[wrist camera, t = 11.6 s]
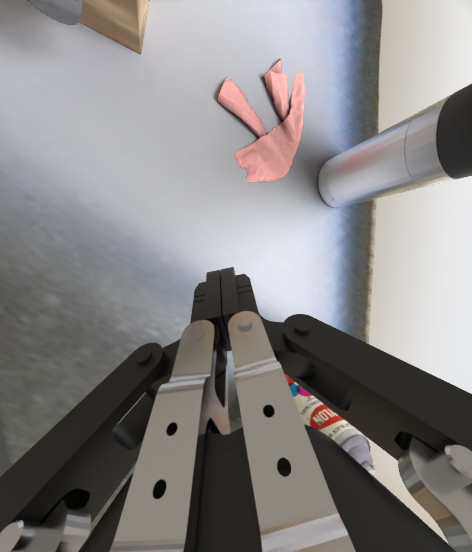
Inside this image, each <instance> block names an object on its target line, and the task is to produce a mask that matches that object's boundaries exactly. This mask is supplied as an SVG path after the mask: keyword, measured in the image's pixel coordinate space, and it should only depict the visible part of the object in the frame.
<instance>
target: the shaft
mask: <svg viewBox="0 0 472 552" xmlns="http://www.w3.org/2000/svg"><path fill="white" fill-rule="evenodd" d="M28 1H29V2H30V3H31V4H33V5H34V6H35V7H36V8H37V9H39V10H40V11H42V12H43V13H44V14H46V15H47V16H49V17H51V18H52V19H54V20H56V21H58V22H61V23H64V24H68V25H74V24H77V23H78V22H79V21H80V19H81V12H82V5H83V0H28Z"/></svg>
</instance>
